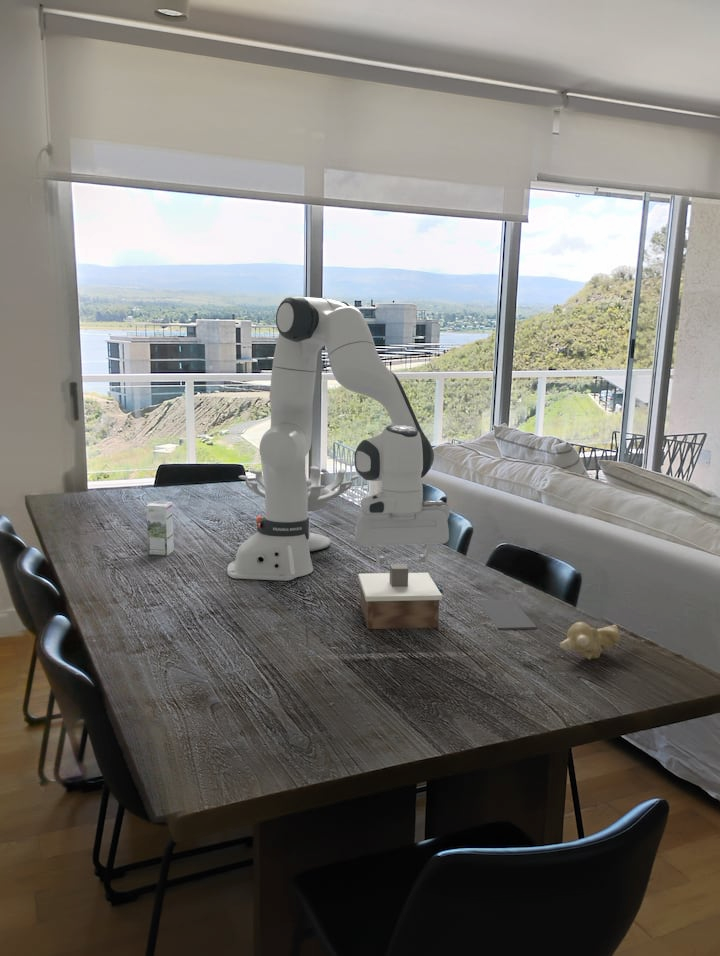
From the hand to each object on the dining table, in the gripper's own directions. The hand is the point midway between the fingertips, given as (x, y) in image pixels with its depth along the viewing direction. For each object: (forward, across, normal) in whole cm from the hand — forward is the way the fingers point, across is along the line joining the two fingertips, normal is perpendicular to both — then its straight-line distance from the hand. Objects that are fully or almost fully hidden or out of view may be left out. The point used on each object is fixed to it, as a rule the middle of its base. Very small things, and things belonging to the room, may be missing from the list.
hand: (401, 564), depth 169 cm
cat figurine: (+14, -33, +22) cm, 42 cm away
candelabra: (+12, +20, -63) cm, 67 cm away
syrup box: (+11, +59, -56) cm, 82 cm away
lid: (+7, +1, 0) cm, 7 cm away
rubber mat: (+13, -19, -1) cm, 23 cm away
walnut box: (+12, +1, 0) cm, 13 cm away
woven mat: (+13, -7, -20) cm, 25 cm away
